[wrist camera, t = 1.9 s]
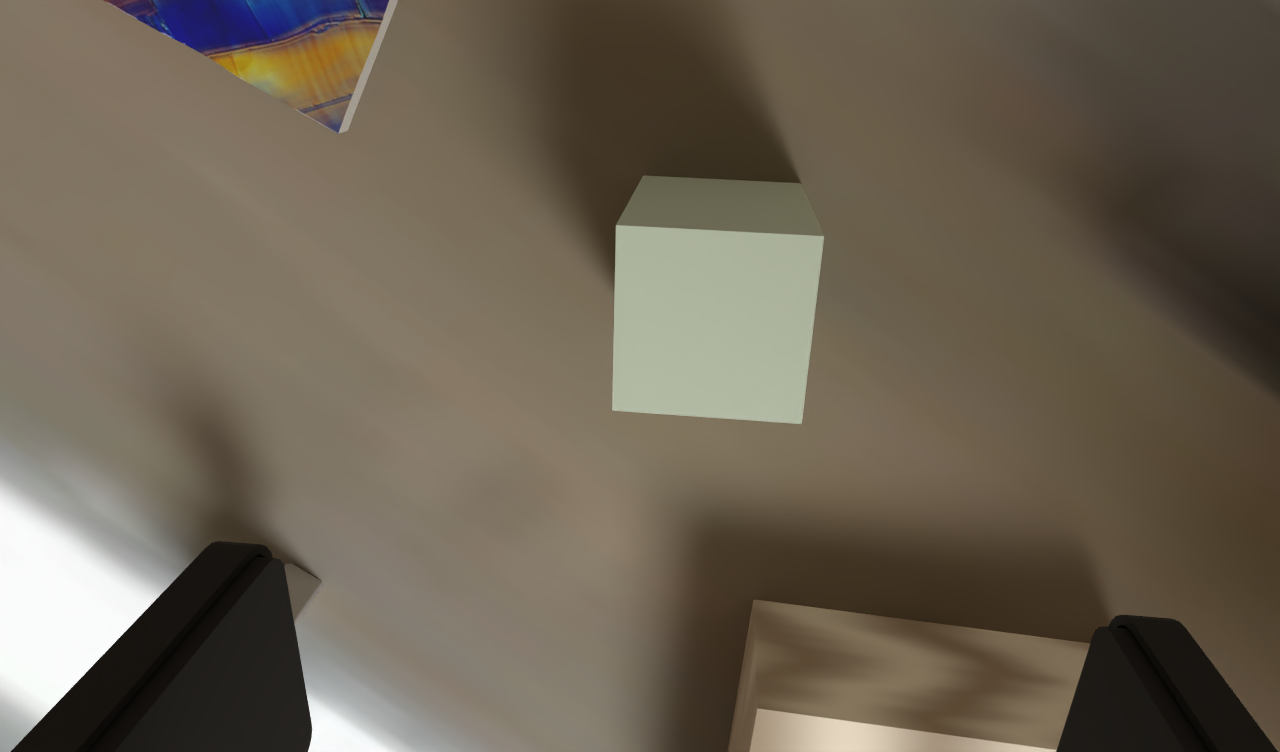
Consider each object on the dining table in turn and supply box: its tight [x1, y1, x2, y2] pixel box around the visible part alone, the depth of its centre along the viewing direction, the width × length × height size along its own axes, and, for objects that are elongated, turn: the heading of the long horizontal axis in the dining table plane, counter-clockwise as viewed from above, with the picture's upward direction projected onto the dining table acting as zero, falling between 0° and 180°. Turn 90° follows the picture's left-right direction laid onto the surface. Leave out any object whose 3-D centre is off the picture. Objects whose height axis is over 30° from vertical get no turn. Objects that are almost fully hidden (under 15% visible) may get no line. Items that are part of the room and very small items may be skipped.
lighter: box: [284, 563, 323, 627], centre depth 31 cm, size 7×2×8 cm, turn 145°
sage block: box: [612, 176, 824, 424], centre depth 24 cm, size 5×5×7 cm
